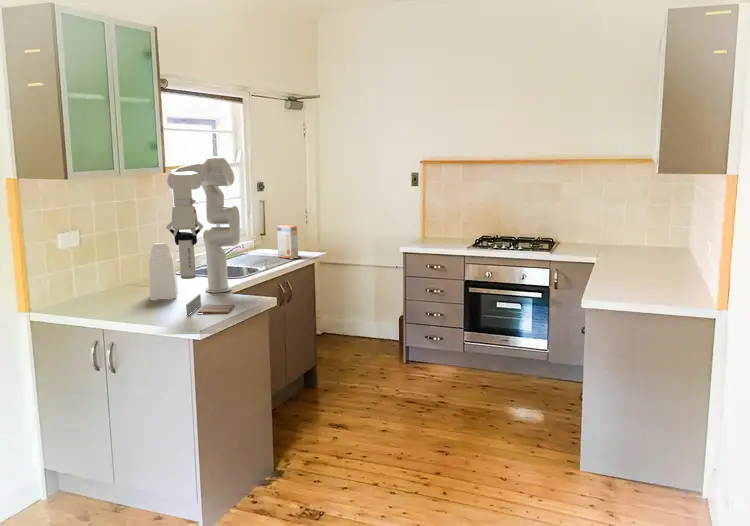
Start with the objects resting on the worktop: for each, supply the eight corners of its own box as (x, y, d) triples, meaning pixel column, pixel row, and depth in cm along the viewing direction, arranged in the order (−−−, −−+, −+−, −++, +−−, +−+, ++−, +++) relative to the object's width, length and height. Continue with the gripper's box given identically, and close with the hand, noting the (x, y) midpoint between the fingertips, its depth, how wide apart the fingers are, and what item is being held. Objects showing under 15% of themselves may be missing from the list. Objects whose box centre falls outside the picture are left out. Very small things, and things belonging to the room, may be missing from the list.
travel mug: (183, 276, 294) (179, 230, 290) (197, 276, 293) (194, 230, 290) (178, 279, 288) (174, 232, 284) (193, 279, 287) (190, 232, 284)
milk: (177, 293, 328) (174, 241, 324) (176, 298, 317) (172, 244, 313) (152, 295, 326) (147, 242, 321) (150, 300, 315) (145, 245, 310)
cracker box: (298, 258, 425) (297, 226, 422) (291, 260, 421) (289, 226, 418) (285, 256, 435) (284, 224, 432) (278, 257, 431) (276, 225, 428)
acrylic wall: (199, 304, 304) (198, 294, 303) (201, 304, 304) (200, 294, 303) (186, 315, 284) (186, 304, 283) (188, 315, 284) (188, 304, 283)
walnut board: (205, 307, 299) (205, 304, 299) (234, 306, 299) (234, 304, 299) (197, 314, 286) (197, 311, 286) (228, 313, 286) (227, 311, 286)
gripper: (205, 201, 288) (208, 242, 291) (166, 202, 289) (169, 243, 292) (200, 203, 281) (203, 245, 284) (159, 203, 281) (163, 246, 285)
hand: (186, 244), depth 288 cm, fingers closed on travel mug, 6 cm apart
